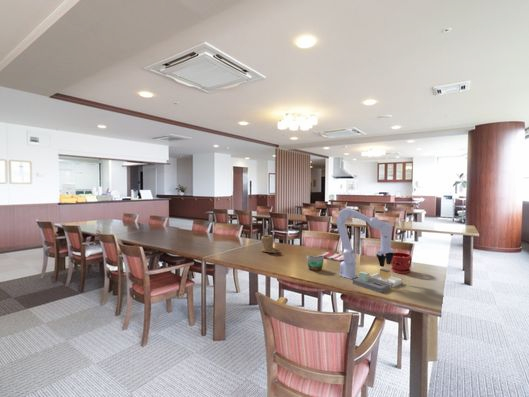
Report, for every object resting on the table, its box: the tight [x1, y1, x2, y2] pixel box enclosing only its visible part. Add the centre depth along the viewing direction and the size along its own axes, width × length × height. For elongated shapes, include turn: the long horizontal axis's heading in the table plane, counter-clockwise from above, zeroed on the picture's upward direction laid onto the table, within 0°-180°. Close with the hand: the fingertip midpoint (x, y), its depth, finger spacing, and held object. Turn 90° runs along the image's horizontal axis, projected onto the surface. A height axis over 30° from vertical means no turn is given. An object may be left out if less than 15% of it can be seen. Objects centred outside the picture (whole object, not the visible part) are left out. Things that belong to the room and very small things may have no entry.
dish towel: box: [317, 251, 344, 263], centre depth 228 cm, size 17×23×3 cm
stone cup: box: [261, 234, 281, 254], centre depth 245 cm, size 15×12×15 cm
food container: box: [306, 254, 325, 272], centre depth 194 cm, size 12×6×10 cm, turn 82°
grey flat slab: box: [352, 277, 390, 294], centre depth 165 cm, size 18×9×2 cm, turn 38°
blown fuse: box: [379, 267, 391, 282], centre depth 172 cm, size 5×3×7 cm, turn 38°
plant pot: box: [390, 251, 413, 275], centre depth 192 cm, size 13×13×12 cm
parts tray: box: [369, 272, 403, 288], centre depth 172 cm, size 16×12×2 cm
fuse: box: [358, 270, 370, 282], centre depth 168 cm, size 5×3×7 cm, turn 38°
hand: (385, 265), depth 172 cm, fingers open, 7 cm apart
